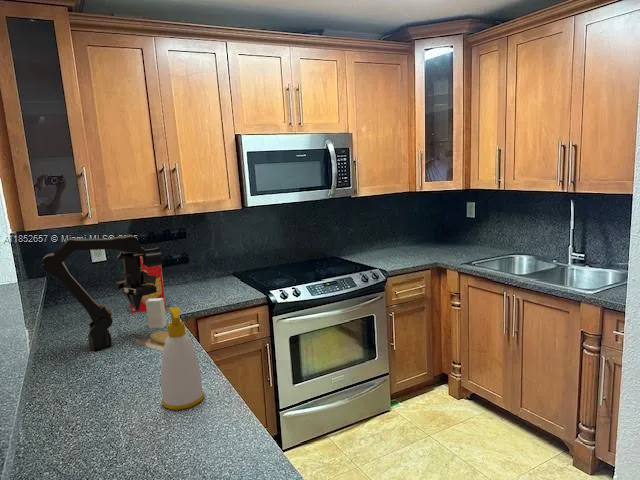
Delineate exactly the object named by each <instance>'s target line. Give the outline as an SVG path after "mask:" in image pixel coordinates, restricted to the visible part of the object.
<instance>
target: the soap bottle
mask: <svg viewBox="0 0 640 480" xmlns="http://www.w3.org/2000/svg"><path fill="white" fill-rule="evenodd" d="M181 309H182V307H181V306H176V307H175V306H174V307H168V308H167V309H166V310H167V312H169V313H170V317H171V318H170V319H171V322H170V323H167V333H168V337H167V339H166V341H165V345H164V349H163V351H162V357H161V375H160V377H161V378H160V379H161V380H160V381H161V382H160V383H161V396H162V397H161V398H162V399H161V404H162V406H163V407H164V408H166V409H168V410H177V411H178V410H184V409H185V410H186V409H188V408H190V407H191V408H192V407H193V406H196V405H197V404H199V403H200V402H201V401H202V400H203V399H204V397H205V391H204V390H203V383H202V375H201V370H200V365H199V364H200V363H199V361H198V355H197V352H196V350H195V346H194V344H193V342H192V339H191V337H190V336H189V335H188V334H187V333H186V326H185V325H186V324H185V321H181V320H180V319H181V318H180V317H181V313H180V312H181Z"/></svg>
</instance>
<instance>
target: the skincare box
mask: <svg viewBox="0 0 640 480" xmlns="http://www.w3.org/2000/svg"><path fill="white" fill-rule="evenodd" d="M146 309H147V311H146V314H147V322H148V329H163V328H165V327H167V326H168V323H167V316H166V305H165V306H164V299H163V298H153V299H148V300H147V301H146Z"/></svg>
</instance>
